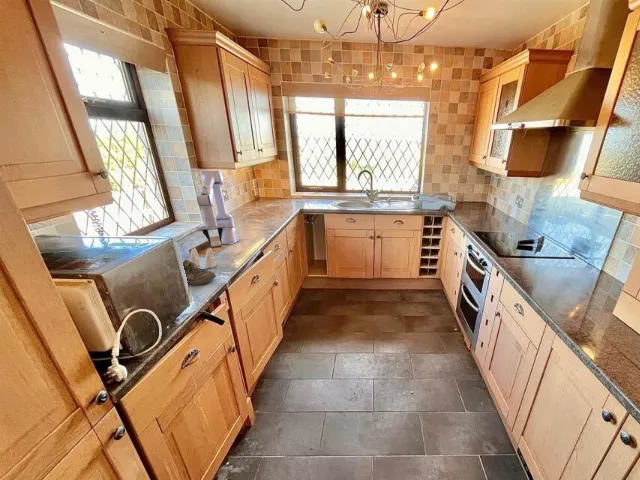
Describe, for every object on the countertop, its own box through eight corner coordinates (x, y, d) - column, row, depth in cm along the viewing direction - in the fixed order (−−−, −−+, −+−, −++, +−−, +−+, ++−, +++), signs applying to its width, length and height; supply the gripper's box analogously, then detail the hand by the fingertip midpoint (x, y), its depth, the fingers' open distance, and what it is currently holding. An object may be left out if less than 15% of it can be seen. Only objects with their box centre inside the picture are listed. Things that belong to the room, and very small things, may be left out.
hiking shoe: (207, 282, 136) (206, 256, 137) (163, 287, 137) (162, 260, 138) (220, 284, 145) (219, 259, 146) (178, 288, 147) (177, 263, 148)
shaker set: (191, 272, 153) (184, 251, 148) (190, 269, 156) (183, 249, 151) (217, 267, 159) (212, 246, 154) (216, 264, 162) (210, 244, 157)
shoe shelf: (210, 245, 193) (209, 239, 191) (229, 245, 192) (227, 239, 190) (190, 256, 175) (188, 249, 173) (210, 256, 174) (209, 250, 172)
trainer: (211, 242, 174) (209, 235, 172) (221, 241, 176) (219, 233, 174) (211, 248, 165) (209, 240, 163) (221, 247, 167) (219, 238, 165)
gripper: (193, 221, 158) (200, 246, 164) (224, 218, 164) (230, 242, 170) (194, 218, 164) (201, 242, 170) (224, 215, 170) (229, 239, 176)
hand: (215, 242), depth 170 cm, fingers closed on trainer, 4 cm apart
